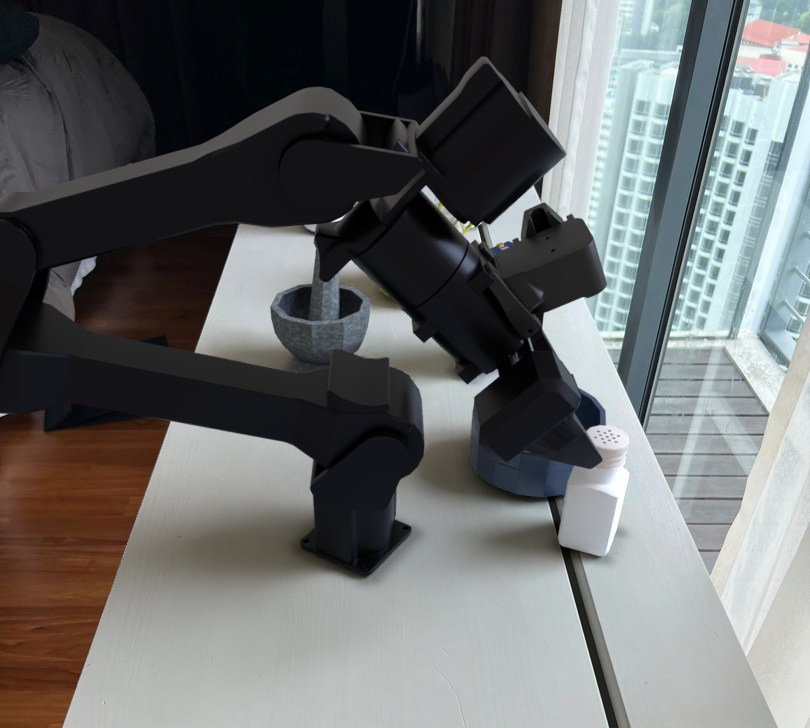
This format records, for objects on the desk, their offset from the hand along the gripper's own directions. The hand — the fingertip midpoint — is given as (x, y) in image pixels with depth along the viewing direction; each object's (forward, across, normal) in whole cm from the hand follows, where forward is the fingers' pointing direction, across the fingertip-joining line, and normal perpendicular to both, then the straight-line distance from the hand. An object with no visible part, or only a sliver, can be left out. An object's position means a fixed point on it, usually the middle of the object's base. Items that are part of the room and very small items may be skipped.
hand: (582, 426), depth 59 cm
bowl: (+7, +10, +8) cm, 15 cm away
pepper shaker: (+9, 0, +6) cm, 11 cm away
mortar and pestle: (-6, +29, +21) cm, 36 cm away
